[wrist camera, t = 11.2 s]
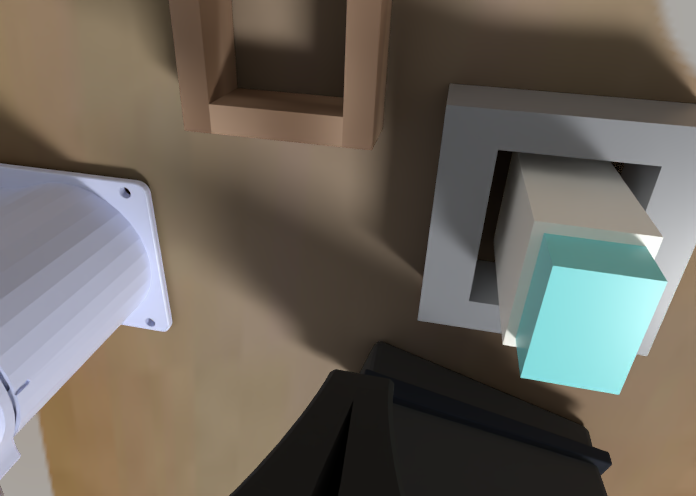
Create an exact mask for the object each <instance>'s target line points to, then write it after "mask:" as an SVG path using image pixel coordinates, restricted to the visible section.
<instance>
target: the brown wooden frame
mask: <svg viewBox="0 0 696 496" xmlns="http://www.w3.org/2000/svg"><path fill="white" fill-rule="evenodd" d="M169 8H170V16H171V24H172V33H173V41H174V49H175V57H176V65H177V73H178V81H179V89H180V97H181V105H182V114H183V122H184V130H185V131H194V132H203V133H213V134H222V135H232V136H241V137H251V138H260V139H270V140H279V141H289V142H298V143H308V144H317V145H327V146H336V147H346V148H355V149H364V150H372V149H373V147H374V145H375V143H376V141H377V139H378V137H379V135H380V133H381V131H382V129H383V120H384V106H385V92H386V79H387V65H388V52H389V38H390V25H391V11H392V0H347V14H346V44H345V74H344V98H343V97H332V96H321V95H310V94H299V93H288V92H276V91H265V90H254V89H243V88H238V87H237V73H236V58H235V43H234V28H233V14H232V0H169Z"/></svg>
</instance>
